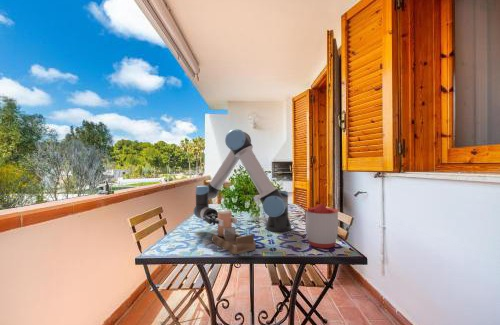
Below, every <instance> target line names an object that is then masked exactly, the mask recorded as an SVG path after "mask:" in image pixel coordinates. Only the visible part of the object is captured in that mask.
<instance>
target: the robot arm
mask: <svg viewBox="0 0 500 325" xmlns="http://www.w3.org/2000/svg"><path fill="white" fill-rule="evenodd" d="M224 142H225V145H226V147H227V148H228V149H230V151H229V152H228V154H227V156H226V157H225V159H224V161H223V162H222V163H221V165H220V167H219V168H218V169H217V172H216V173H215V174H214V176H213V177H212V179H211V180H210V182H209V183H208V185H197V186H196V187H195V206H194V208H193V214H194V216H195V217H197V218H198V219H202V221H204V222H206V223H207V224H209V225H211V224H212V226H216V225H217V226H218V225H220V226H223V220H221V219H218V211H217V210H216V209H215V208H212V207H209V200H212V199H215V198H216V197H218V196H219V191H220V190H221V188H222V187H223V186H224V183H225V182H226V181H227V179H228V177H230V175H231V173H232V171H233V169H234V168H235V166H236V165H237V163H238V162H239V160H240V162H241V164H242V165H243V167H244V169H245V171H246V172H247V174H248V176H249V178H250V179H251V181H252V183H253V185H254V186H255V188H256V190H257V192H258V194H259V198H258V199H259V201H260V203H261V204H262V210H263V212H264V213H265V215H266V216H268V217H267V220H266V224H265V229H266V230H267V231H270V232H280V233H281V232H288V231H291V230H292V223H291V221H290V217H289V193H288V191H287V190H279V189H278V187H275V186H273V184H272V182H271V181H270V179H269V176H268V175H267V173H266V172H265V170H264V169H263V166H262V165H261V163H260V161H259V160H258V158H257V157H256V154H255V153H254V151H253V144H252V138H251V136H250V134H249V133H247V132H245V131H243V130H242V129H236V128H235V129H231V130H229V131H228V133H227V134H226V135H225V141H224ZM232 224H235V225H237V224H238V218H237V217H235V215H234V214H232Z"/></svg>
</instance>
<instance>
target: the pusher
mask: <svg viewBox="0 0 500 325" xmlns="http://www.w3.org/2000/svg"><path fill="white" fill-rule="evenodd" d="M235 233H236V226H232V227H229V228H224V240H226V241H228V242H232V241H235Z"/></svg>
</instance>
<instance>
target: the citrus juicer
mask: <svg viewBox="0 0 500 325" xmlns="http://www.w3.org/2000/svg"><path fill="white" fill-rule="evenodd" d="M338 212H339V210H338V209H336V208H331V207H326V206H325V205H324V204H323V203H319V204H318V205H317V206H315V207H313V206H312V207H307V209H305V210H304V215H303V216H302V217H301V220H304V221H305V232H306V233H305V234H306V237H307V241H308V244H309V245H310V246H311V247H315V248H321V249H330V248H333V247H335V246H336V245H335V244H336V242H337V239H338V233H339V213H338Z"/></svg>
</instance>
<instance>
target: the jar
mask: <svg viewBox="0 0 500 325" xmlns="http://www.w3.org/2000/svg"><path fill="white" fill-rule="evenodd" d="M217 212H218V219H221V220H223V226H220V225H218V224H217V236H224V228H229V227H233V225H232V224H233V223H232V215H233V213H232V210H231V209H227V208H225V209H219V210H218V211H217Z"/></svg>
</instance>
